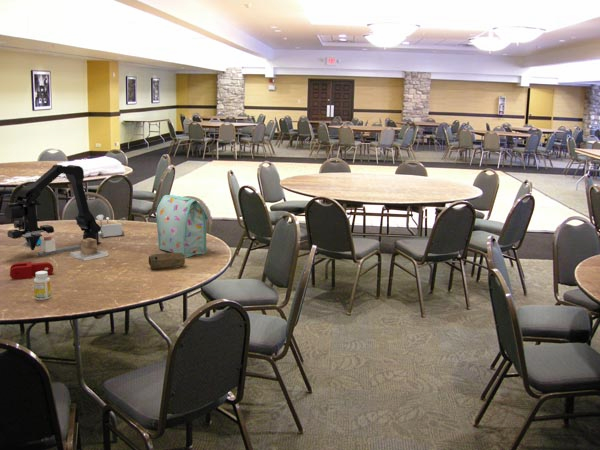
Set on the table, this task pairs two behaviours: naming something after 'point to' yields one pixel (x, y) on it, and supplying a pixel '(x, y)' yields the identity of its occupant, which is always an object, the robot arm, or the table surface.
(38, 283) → the supplement bottle
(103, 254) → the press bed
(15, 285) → the table surface
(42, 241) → the white rectangular block
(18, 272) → the mechanical linkage
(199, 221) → the lunch bag
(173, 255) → the stone weight
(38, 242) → the blue lobed piece
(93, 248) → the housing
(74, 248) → the rail
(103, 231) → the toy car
